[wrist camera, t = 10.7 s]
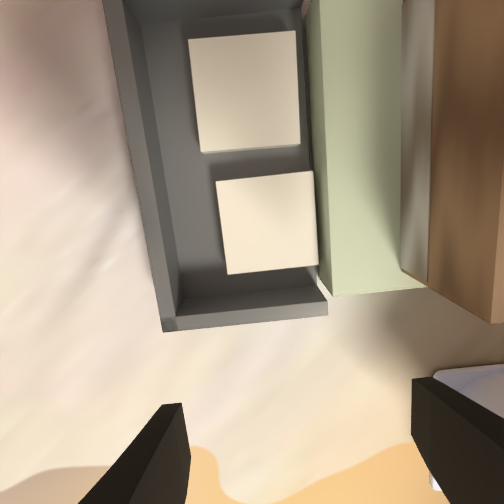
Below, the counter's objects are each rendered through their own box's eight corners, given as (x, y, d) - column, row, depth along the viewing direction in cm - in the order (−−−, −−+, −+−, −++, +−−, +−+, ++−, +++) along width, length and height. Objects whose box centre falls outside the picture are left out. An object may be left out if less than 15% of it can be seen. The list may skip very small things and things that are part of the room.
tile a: (314, 259, 18) (318, 264, 17) (228, 268, 18) (227, 274, 17) (308, 171, 17) (313, 170, 16) (217, 181, 17) (215, 181, 16)
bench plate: (483, 261, 19) (525, 276, 16) (319, 278, 19) (332, 296, 16) (501, -4, 16) (558, -45, 13) (305, 17, 16) (318, -20, 13)
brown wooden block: (459, 264, 16) (583, 314, 10) (399, 271, 16) (488, 324, 10) (473, -9, 13) (653, -156, 7) (401, -1, 13) (524, -142, 7)
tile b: (296, 146, 17) (300, 143, 16) (203, 153, 17) (200, 151, 16) (291, 41, 16) (295, 30, 15) (192, 49, 16) (187, 39, 15)
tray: (315, 294, 19) (328, 315, 16) (175, 309, 19) (162, 332, 16) (297, -6, 16) (309, -47, 13) (125, 13, 16) (97, -25, 13)
